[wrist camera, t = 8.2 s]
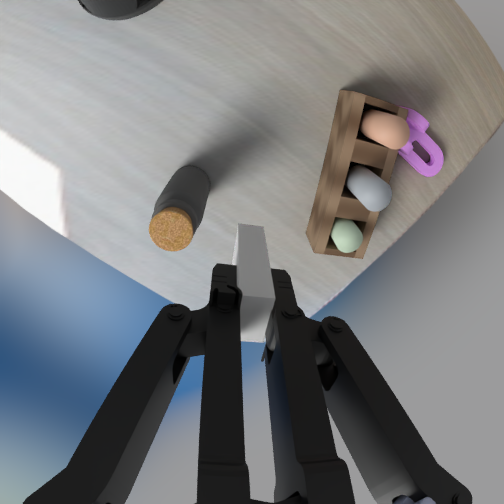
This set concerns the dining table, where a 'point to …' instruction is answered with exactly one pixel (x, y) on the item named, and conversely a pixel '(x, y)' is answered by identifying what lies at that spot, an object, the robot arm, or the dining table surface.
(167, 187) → the bottle
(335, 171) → the walnut rack
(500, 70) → the dining table surface
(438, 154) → the bracket
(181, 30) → the dining table surface
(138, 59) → the dining table surface
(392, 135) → the brown egg
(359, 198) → the grey rounded cylinder
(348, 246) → the green rounded cylinder
